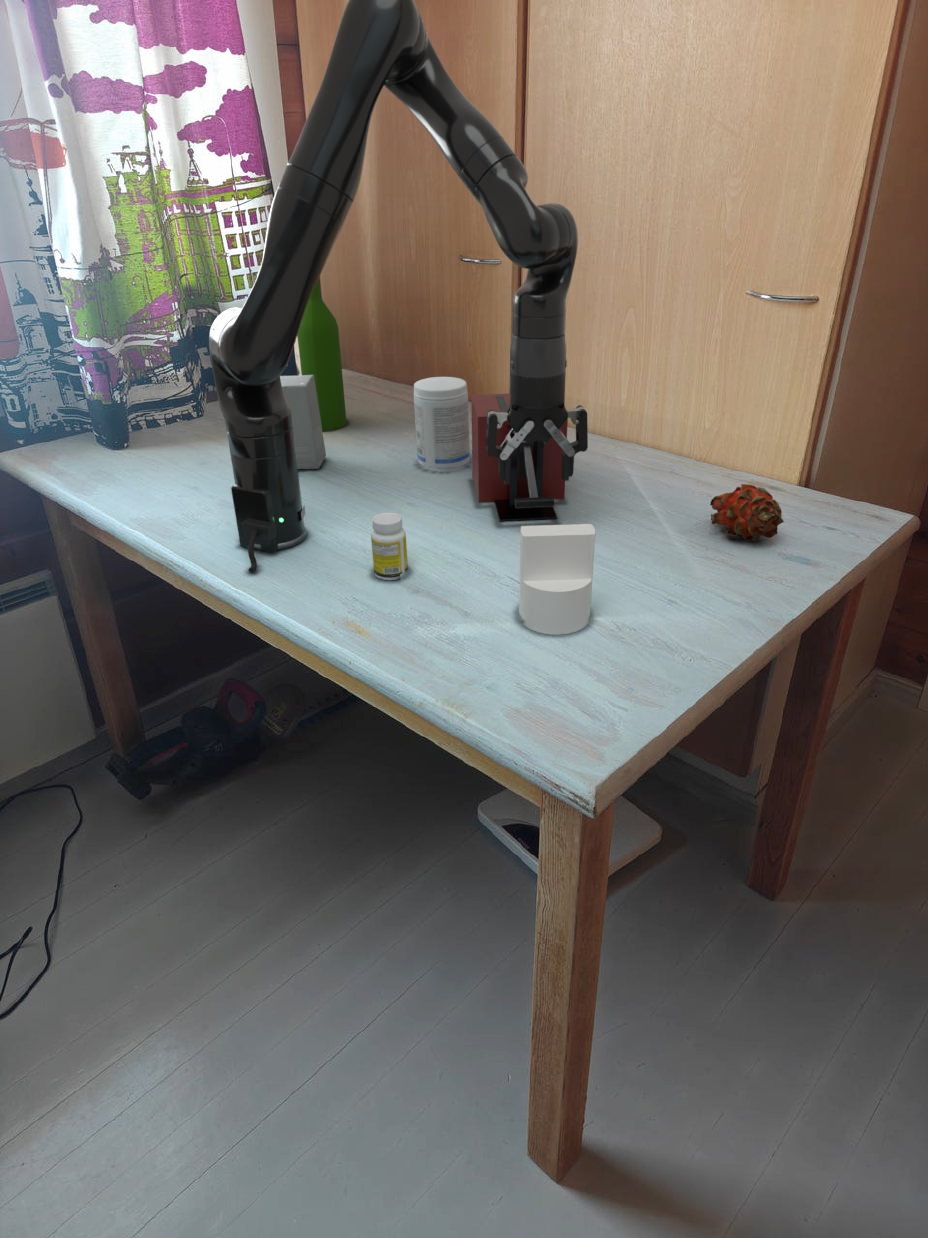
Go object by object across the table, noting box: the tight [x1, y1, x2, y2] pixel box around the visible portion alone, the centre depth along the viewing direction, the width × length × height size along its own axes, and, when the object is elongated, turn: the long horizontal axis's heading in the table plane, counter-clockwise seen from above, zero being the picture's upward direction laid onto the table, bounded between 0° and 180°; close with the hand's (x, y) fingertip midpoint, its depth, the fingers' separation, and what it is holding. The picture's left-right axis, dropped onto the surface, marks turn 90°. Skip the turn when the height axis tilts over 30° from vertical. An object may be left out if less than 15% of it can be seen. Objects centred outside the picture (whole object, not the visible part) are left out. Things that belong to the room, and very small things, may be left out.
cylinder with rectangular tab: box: [518, 523, 596, 636], centre depth 108 cm, size 9×9×12 cm
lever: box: [515, 441, 555, 508], centre depth 131 cm, size 14×6×2 cm, turn 5°
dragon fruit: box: [707, 483, 785, 542], centre depth 130 cm, size 8×8×12 cm
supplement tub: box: [413, 376, 471, 469], centre depth 156 cm, size 10×10×15 cm
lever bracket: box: [493, 425, 558, 523], centre depth 136 cm, size 10×9×14 cm
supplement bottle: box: [370, 512, 409, 581], centre depth 120 cm, size 5×5×8 cm
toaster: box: [470, 393, 569, 504], centre depth 144 cm, size 12×14×15 cm
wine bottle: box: [293, 279, 347, 432], centre depth 173 cm, size 9×9×32 cm
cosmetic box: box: [280, 375, 327, 470], centre depth 157 cm, size 8×7×16 cm
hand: (535, 480), depth 127 cm, fingers open, 8 cm apart
